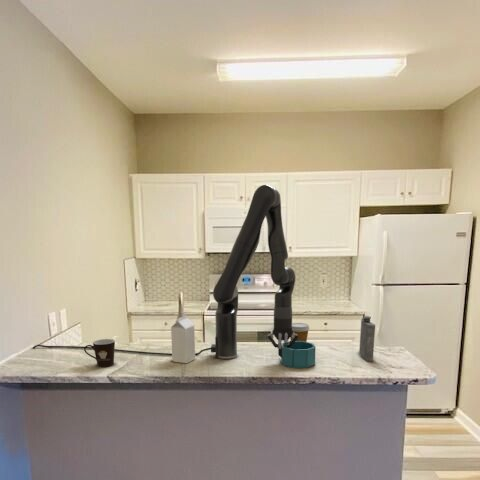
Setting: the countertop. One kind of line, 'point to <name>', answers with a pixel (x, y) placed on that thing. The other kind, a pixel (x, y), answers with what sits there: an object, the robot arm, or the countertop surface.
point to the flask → (367, 339)
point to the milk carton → (183, 340)
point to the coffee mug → (103, 352)
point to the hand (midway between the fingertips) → (282, 356)
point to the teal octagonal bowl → (298, 354)
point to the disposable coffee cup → (300, 331)
